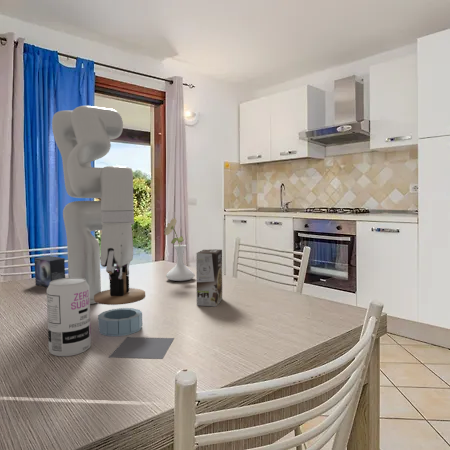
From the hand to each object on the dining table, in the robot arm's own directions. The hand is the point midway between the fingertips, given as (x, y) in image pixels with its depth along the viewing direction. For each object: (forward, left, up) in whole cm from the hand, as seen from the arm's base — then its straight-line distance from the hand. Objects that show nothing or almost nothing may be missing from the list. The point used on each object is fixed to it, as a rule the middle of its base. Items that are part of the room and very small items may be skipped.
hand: (119, 293), depth 91 cm
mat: (+9, -11, -9) cm, 17 cm away
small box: (-44, +46, -10) cm, 64 cm away
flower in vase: (+3, +57, -10) cm, 58 cm away
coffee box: (+19, +26, -10) cm, 34 cm away
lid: (0, 0, -1) cm, 1 cm away
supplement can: (-6, -13, -10) cm, 17 cm away
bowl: (0, 0, -9) cm, 9 cm away
